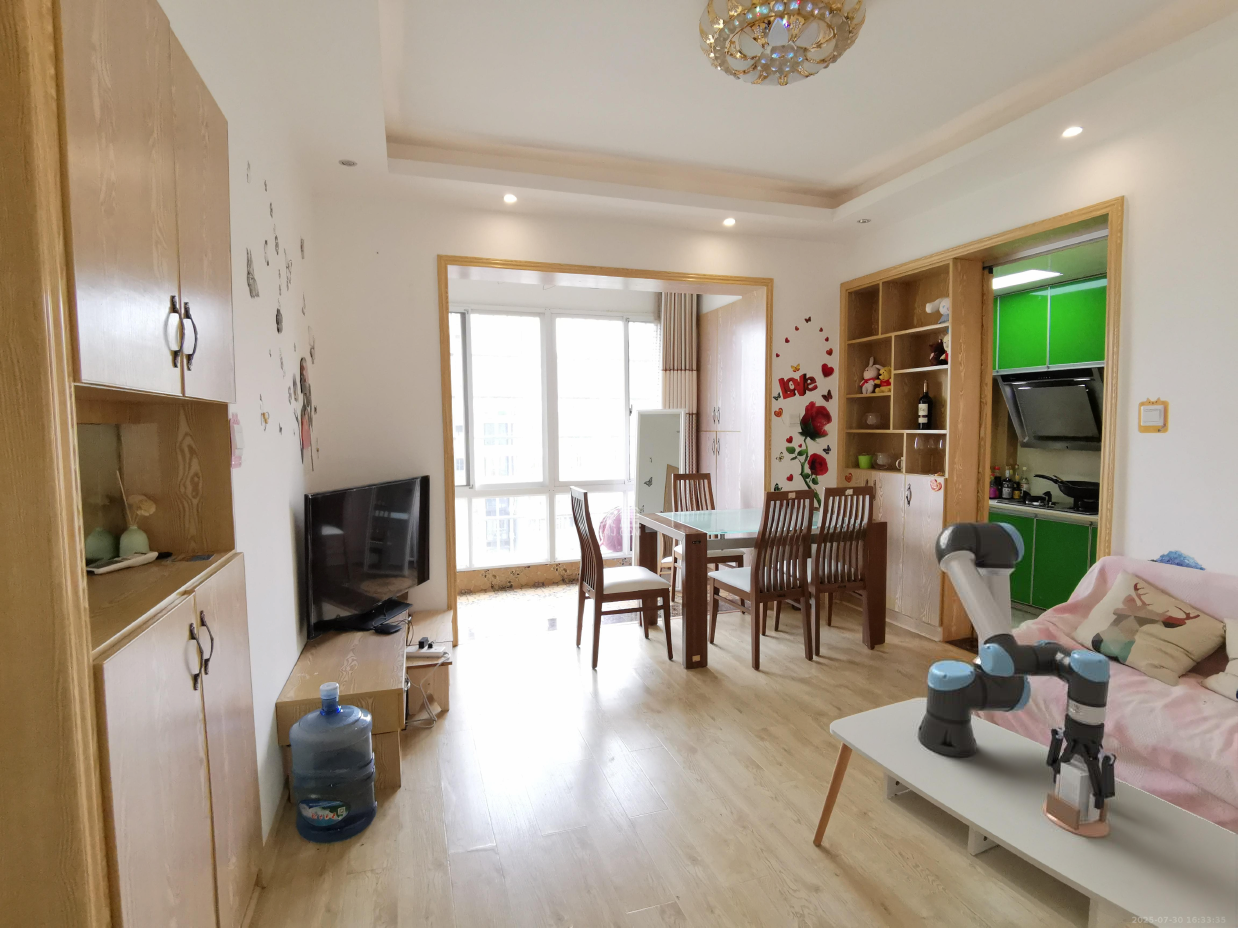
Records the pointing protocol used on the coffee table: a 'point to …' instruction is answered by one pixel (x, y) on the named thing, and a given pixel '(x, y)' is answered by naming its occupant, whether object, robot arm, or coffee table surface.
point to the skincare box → (1076, 787)
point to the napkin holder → (1074, 817)
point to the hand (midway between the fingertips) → (1076, 808)
